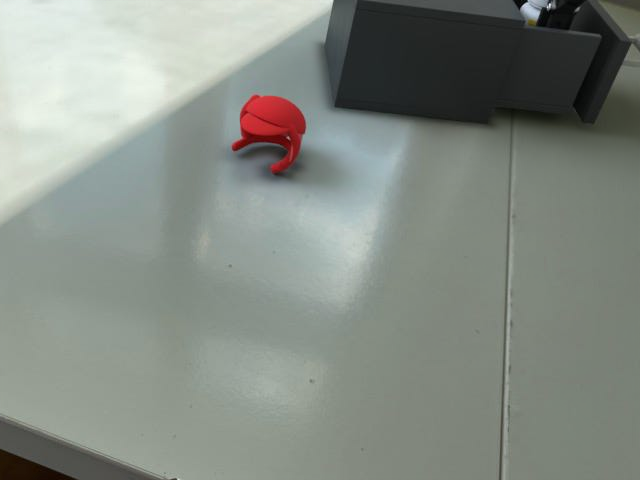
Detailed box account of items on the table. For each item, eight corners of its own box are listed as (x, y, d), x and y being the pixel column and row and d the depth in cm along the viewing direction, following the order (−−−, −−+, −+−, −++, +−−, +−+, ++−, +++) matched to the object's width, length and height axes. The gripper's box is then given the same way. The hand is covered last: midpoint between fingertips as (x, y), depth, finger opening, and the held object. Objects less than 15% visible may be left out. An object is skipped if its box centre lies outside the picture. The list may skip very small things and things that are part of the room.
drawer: (613, 75, 90) (649, -2, 84) (656, 131, 80) (699, 50, 74) (433, 53, 88) (456, -27, 82) (454, 108, 78) (483, 23, 73)
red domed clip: (241, 130, 72) (249, 69, 68) (305, 144, 71) (317, 84, 67) (220, 175, 66) (228, 112, 62) (289, 192, 65) (301, 129, 61)
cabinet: (460, 62, 89) (491, -34, 82) (488, 124, 79) (526, 20, 72) (324, 45, 88) (343, -54, 81) (334, 106, 78) (357, -1, 70)
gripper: (692, -132, 62) (599, 79, 74) (617, -179, 75) (548, 8, 87) (601, -144, 61) (522, 71, 73) (541, -189, 74) (482, 1, 86)
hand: (536, 35), depth 80 cm, fingers closed on supplement bottle, 4 cm apart
